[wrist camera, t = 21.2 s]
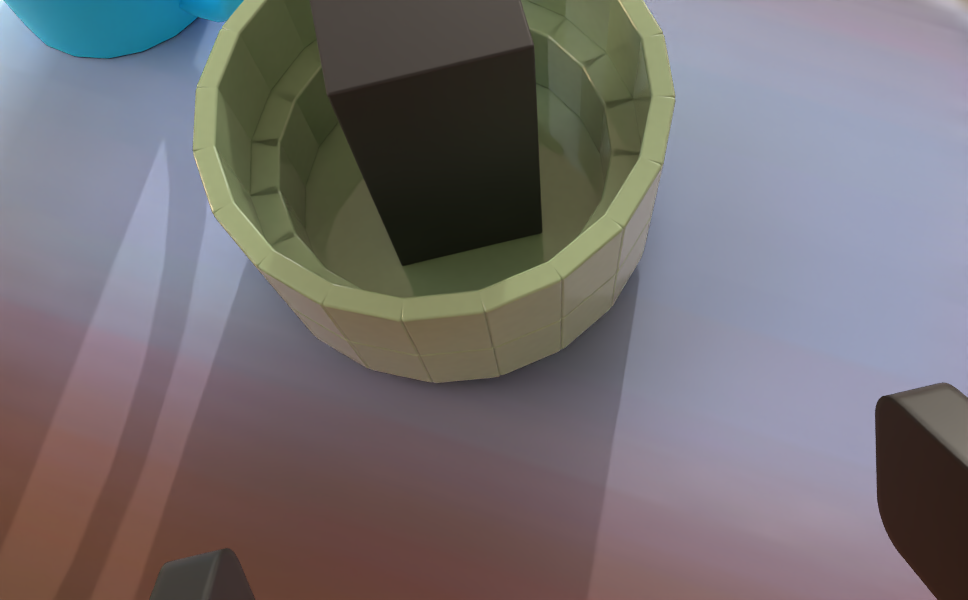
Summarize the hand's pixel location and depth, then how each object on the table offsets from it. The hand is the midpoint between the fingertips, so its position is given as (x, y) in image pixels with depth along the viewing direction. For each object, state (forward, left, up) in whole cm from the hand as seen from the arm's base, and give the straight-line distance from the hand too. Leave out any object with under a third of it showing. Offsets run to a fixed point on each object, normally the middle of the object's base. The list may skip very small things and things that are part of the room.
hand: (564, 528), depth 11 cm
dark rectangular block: (+2, +12, -13) cm, 17 cm away
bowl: (+2, +12, -13) cm, 18 cm away
